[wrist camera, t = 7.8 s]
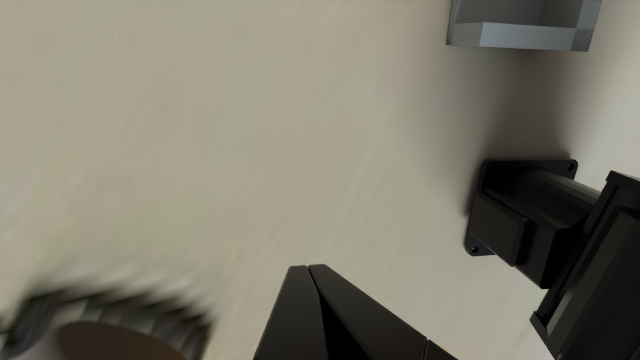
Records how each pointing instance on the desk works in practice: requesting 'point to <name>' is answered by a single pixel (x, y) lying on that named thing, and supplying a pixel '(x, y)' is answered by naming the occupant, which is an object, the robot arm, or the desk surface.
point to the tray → (523, 24)
